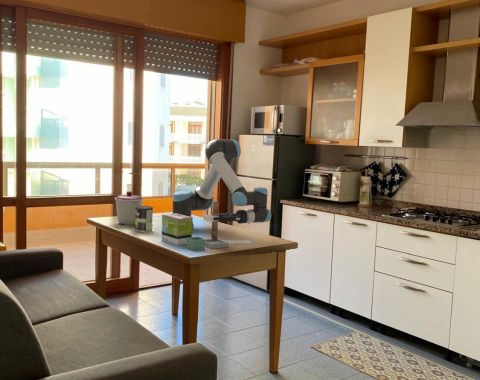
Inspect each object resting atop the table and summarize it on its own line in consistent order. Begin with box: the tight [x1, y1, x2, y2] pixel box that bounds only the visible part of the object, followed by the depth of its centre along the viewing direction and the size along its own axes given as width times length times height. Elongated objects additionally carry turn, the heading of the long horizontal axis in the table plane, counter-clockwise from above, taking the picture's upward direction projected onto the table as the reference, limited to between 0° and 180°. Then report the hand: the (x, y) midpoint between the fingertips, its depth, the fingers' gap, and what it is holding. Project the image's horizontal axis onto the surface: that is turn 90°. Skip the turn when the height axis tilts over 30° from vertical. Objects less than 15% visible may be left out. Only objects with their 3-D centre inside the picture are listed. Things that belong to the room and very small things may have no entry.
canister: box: [114, 190, 145, 226], centre depth 301 cm, size 18×18×21 cm
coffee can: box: [134, 205, 154, 233], centre depth 281 cm, size 10×10×14 cm
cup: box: [185, 236, 206, 251], centre depth 239 cm, size 7×7×6 cm
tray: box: [204, 237, 230, 249], centre depth 248 cm, size 12×11×3 cm
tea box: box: [161, 213, 194, 246], centre depth 252 cm, size 15×10×15 cm, turn 45°
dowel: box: [210, 201, 220, 240], centre depth 246 cm, size 3×3×20 cm
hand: (205, 218), depth 243 cm, fingers closed on dowel, 3 cm apart
